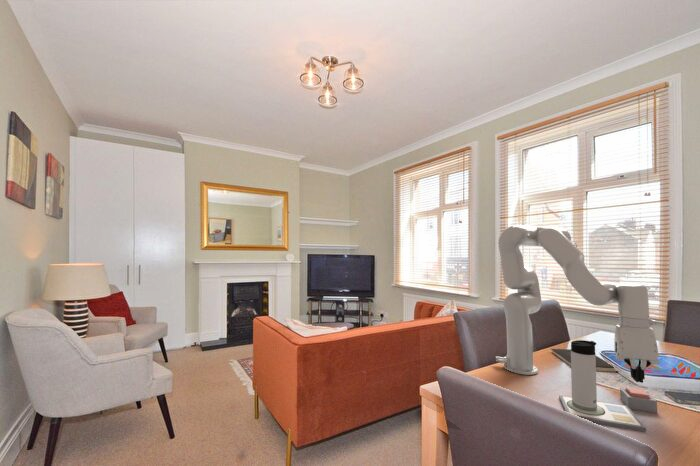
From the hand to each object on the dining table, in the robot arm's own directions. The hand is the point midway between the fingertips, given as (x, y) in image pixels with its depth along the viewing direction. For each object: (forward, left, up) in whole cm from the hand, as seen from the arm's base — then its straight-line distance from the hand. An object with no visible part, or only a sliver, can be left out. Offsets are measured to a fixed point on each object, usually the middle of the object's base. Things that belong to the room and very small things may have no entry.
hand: (637, 380), depth 103 cm
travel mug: (-17, -11, -7) cm, 21 cm away
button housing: (0, 0, -8) cm, 8 cm away
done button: (0, 0, -5) cm, 5 cm away
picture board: (-13, -11, -8) cm, 19 cm away
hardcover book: (-7, +42, -9) cm, 43 cm away
